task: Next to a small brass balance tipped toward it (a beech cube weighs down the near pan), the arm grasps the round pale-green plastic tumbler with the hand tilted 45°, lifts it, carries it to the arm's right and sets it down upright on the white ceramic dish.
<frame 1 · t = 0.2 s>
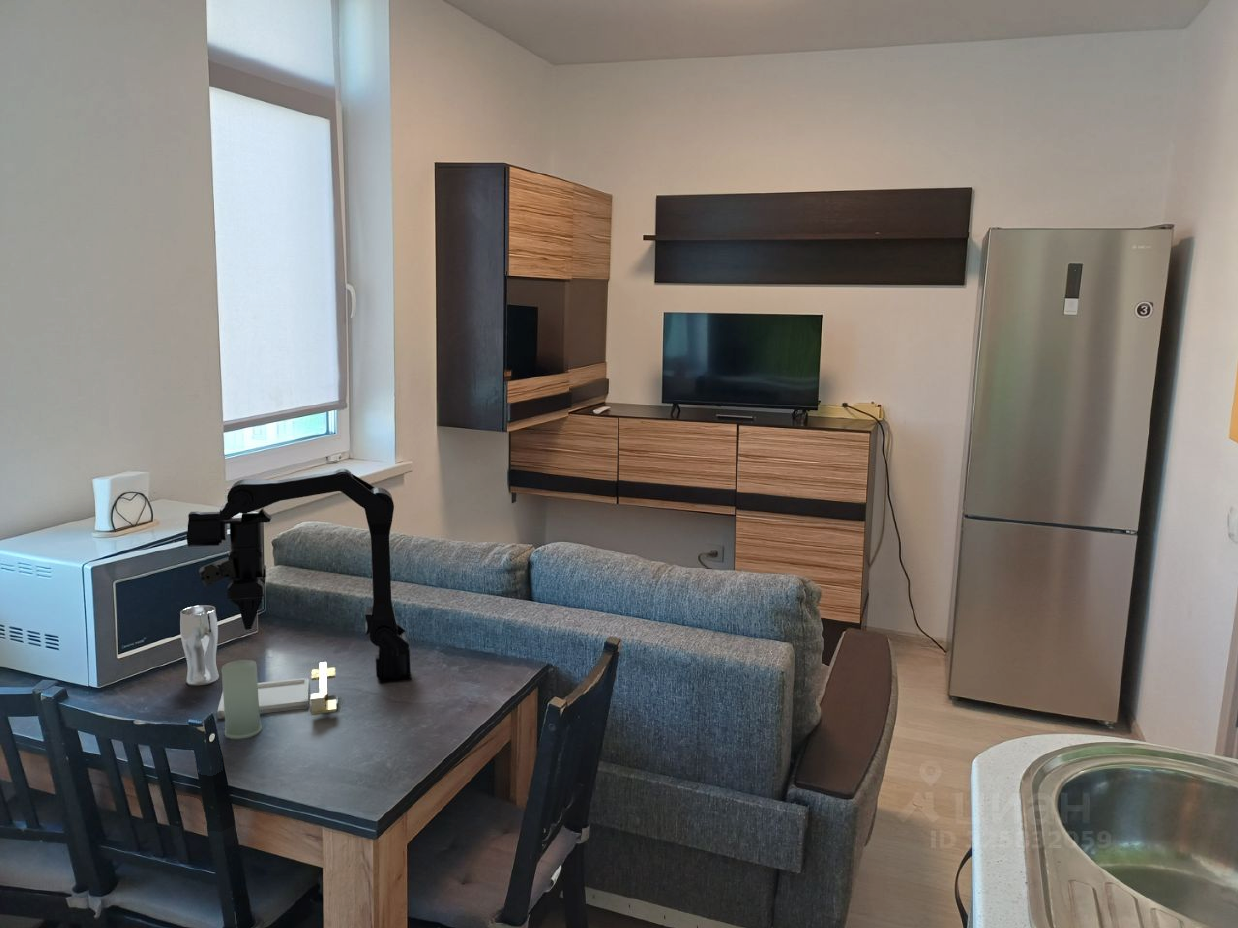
hand: (249, 622, 180), 15 cm above the table, tool pointing down, fingers open, 9 cm apart
cup: (243, 731, 165), on the table
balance: (324, 706, 176), on the table
dish: (265, 700, 178), on the table
beer glass: (202, 680, 189), on the table
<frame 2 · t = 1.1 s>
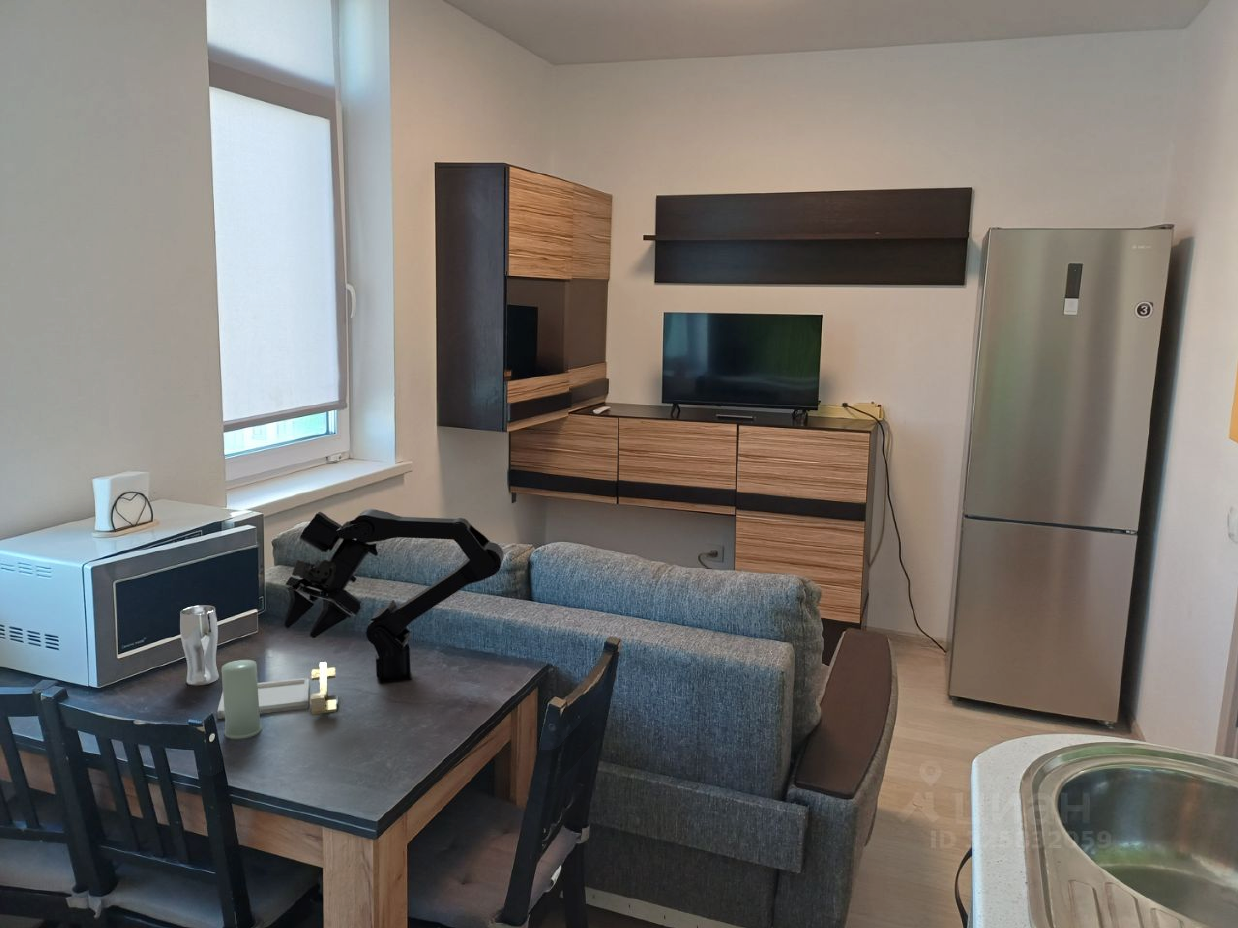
hand: (298, 632, 178), 13 cm above the table, tool tilted 45°, fingers open, 9 cm apart
nothing on the table moved.
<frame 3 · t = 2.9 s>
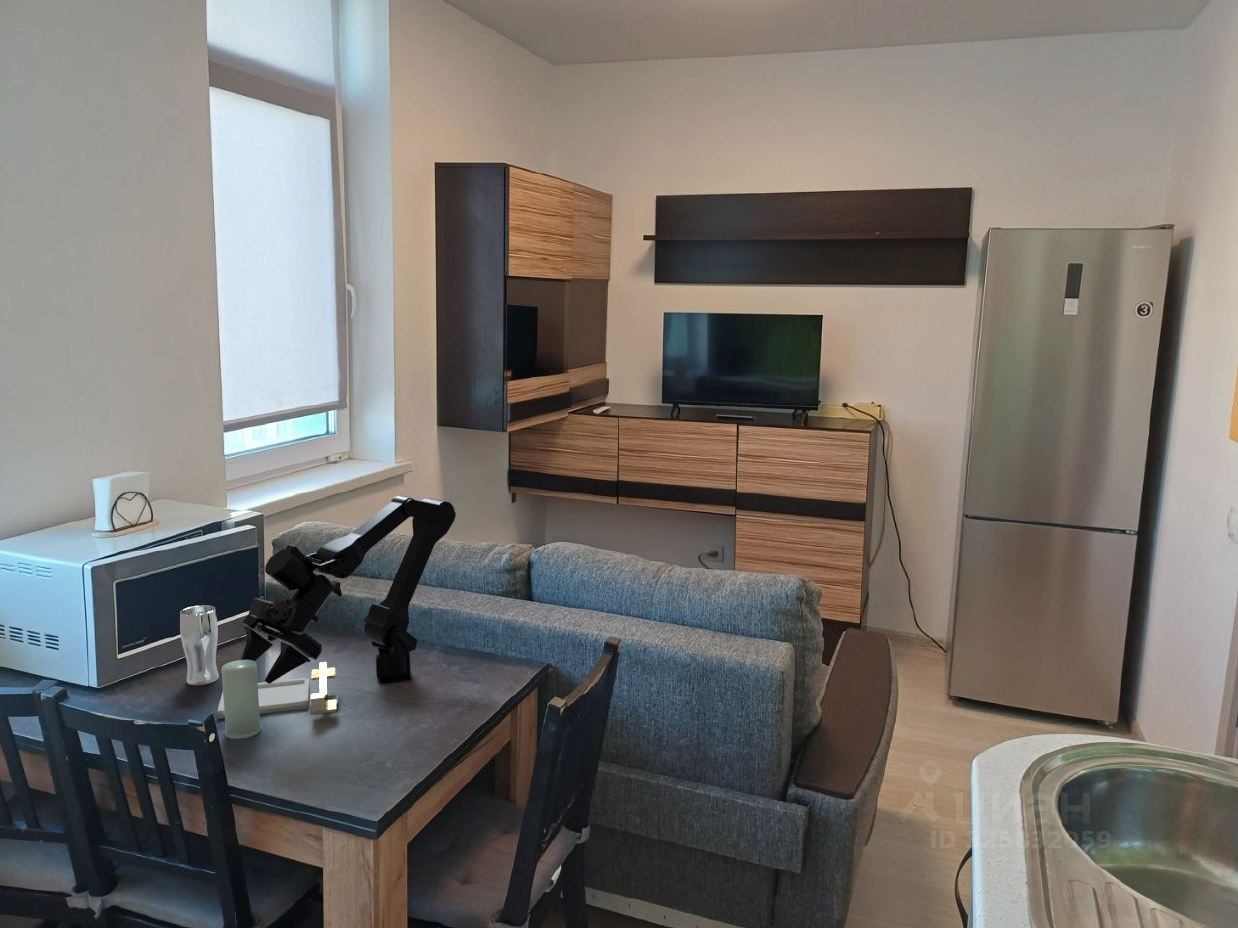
hand: (253, 675, 166), 10 cm above the table, tool tilted 45°, fingers open, 9 cm apart
nothing on the table moved.
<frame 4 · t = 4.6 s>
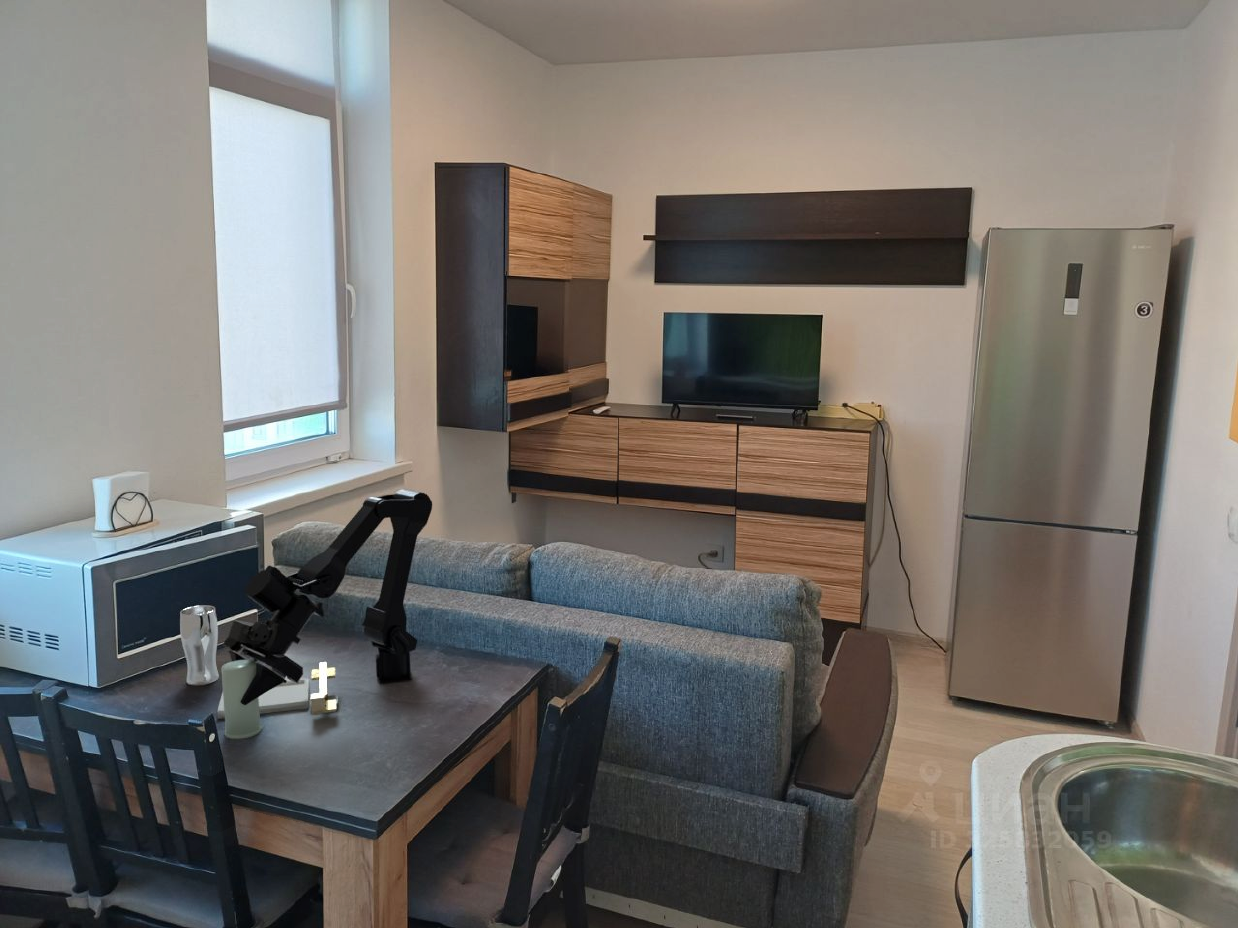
hand: (233, 699, 163), 7 cm above the table, tool tilted 45°, fingers closed on cup, 6 cm apart
cup: (243, 731, 165), on the table, touching gripper
everything else where it was.
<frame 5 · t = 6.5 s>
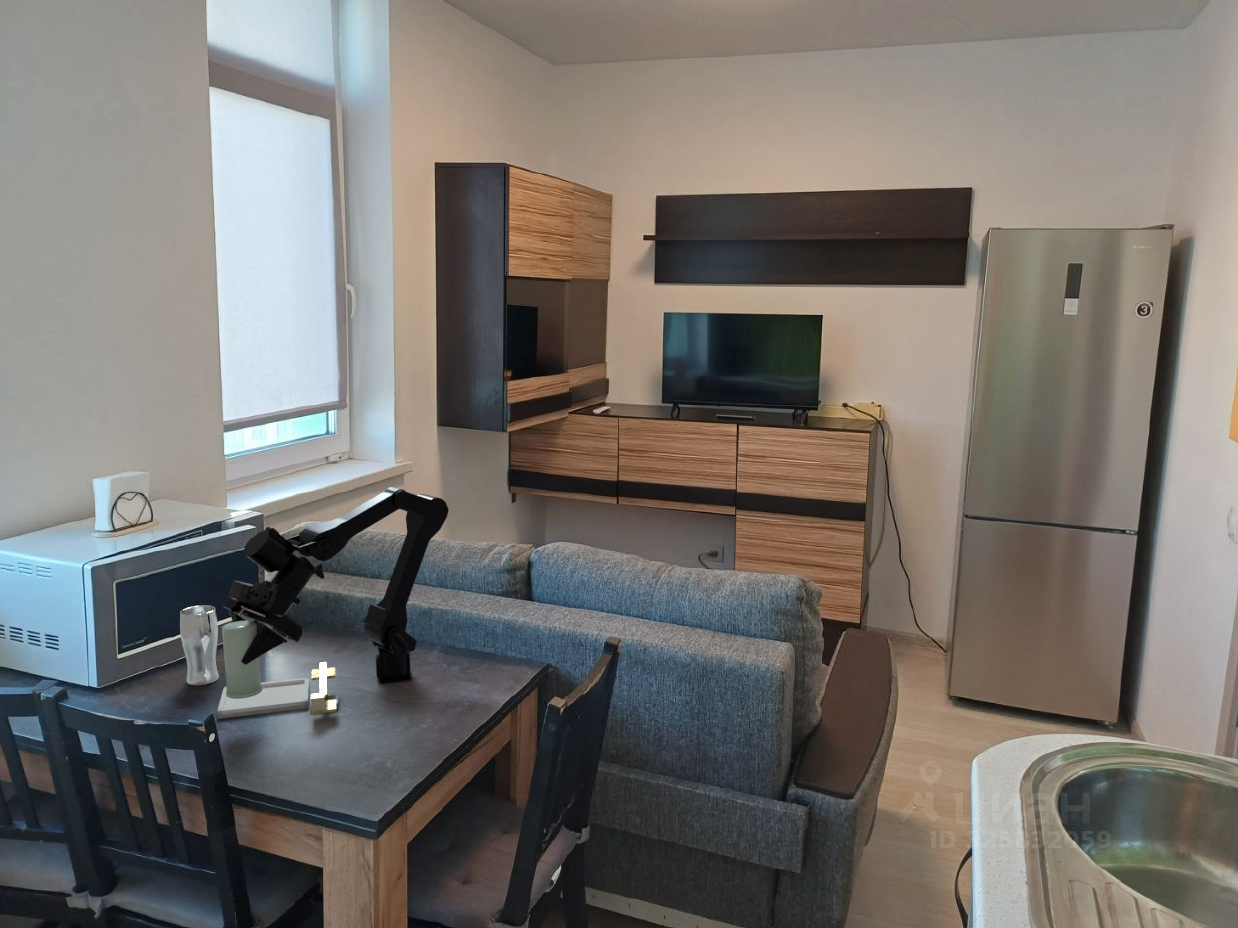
hand: (234, 659, 164), 13 cm above the table, tool tilted 45°, fingers closed on cup, 6 cm apart
cup: (244, 691, 166), point 7 cm above the table, touching gripper
everything else where it was.
when the fingers open (9 cm above the table, at t = 8.8 s): cup drops 1 cm, resting on dish.
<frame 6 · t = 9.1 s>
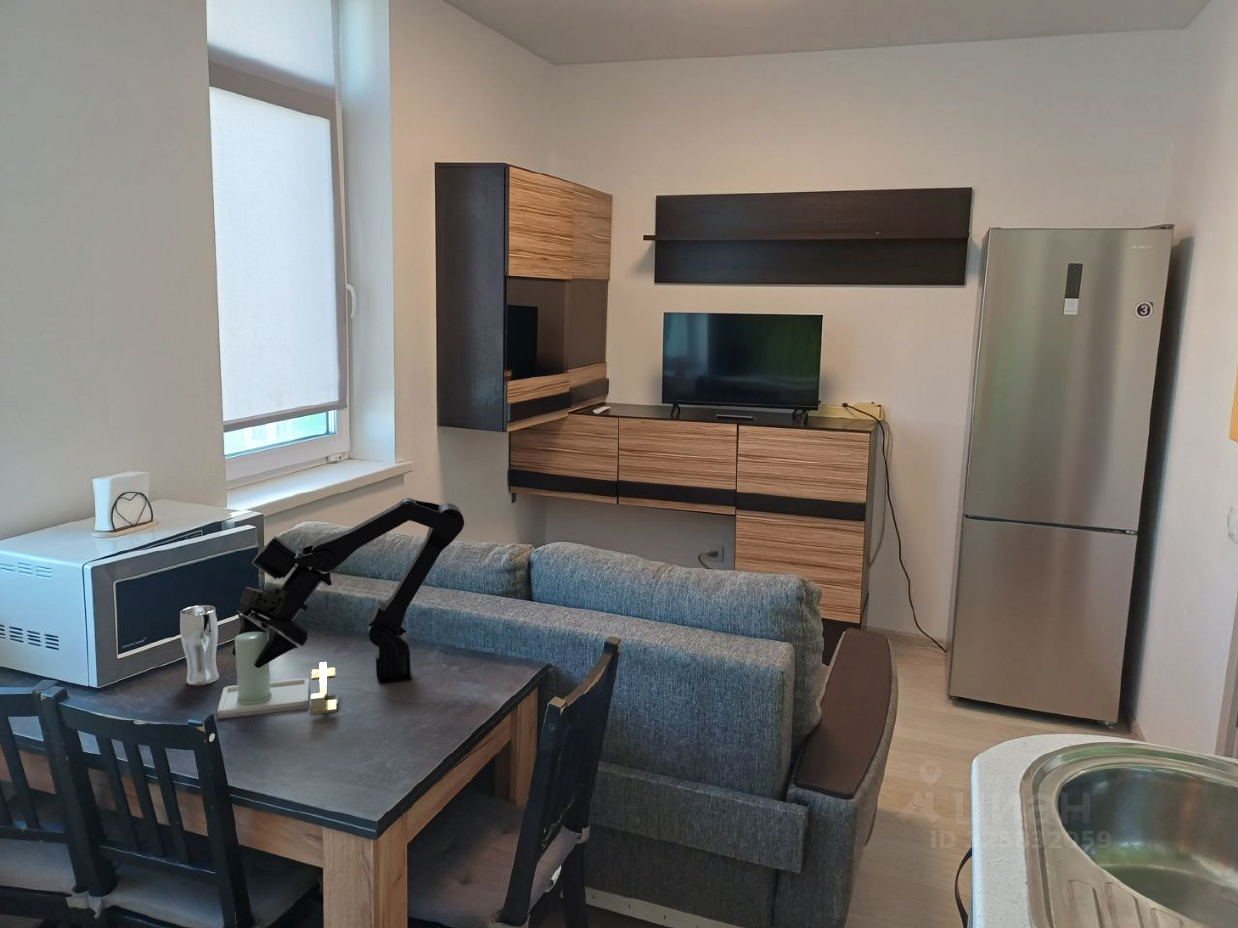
hand: (244, 660, 175), 9 cm above the table, tool tilted 45°, fingers open, 9 cm apart
cup: (254, 697, 178), point 1 cm above the table, touching dish
everything else where it was.
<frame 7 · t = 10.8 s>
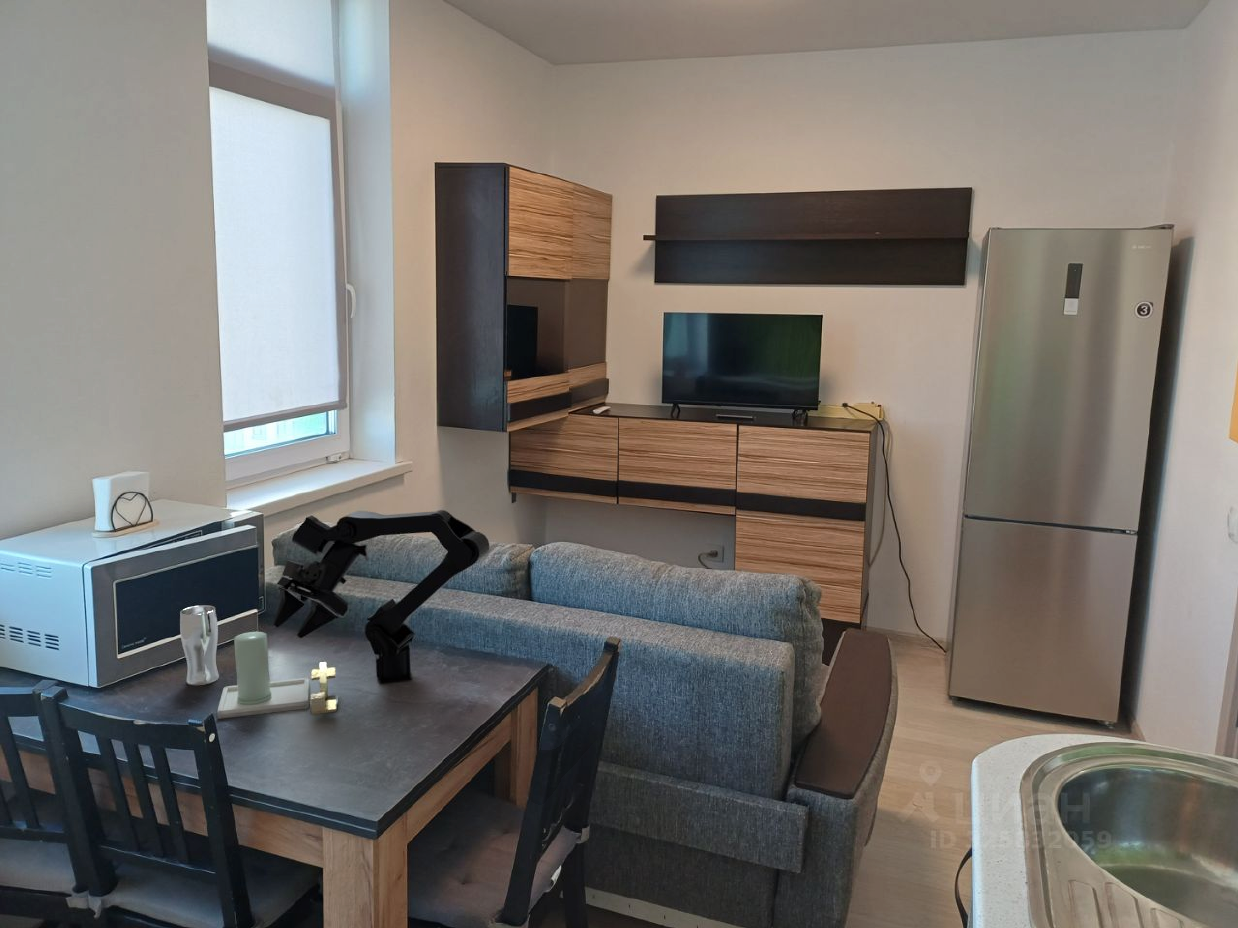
hand: (286, 631, 181), 13 cm above the table, tool tilted 45°, fingers open, 9 cm apart
nothing on the table moved.
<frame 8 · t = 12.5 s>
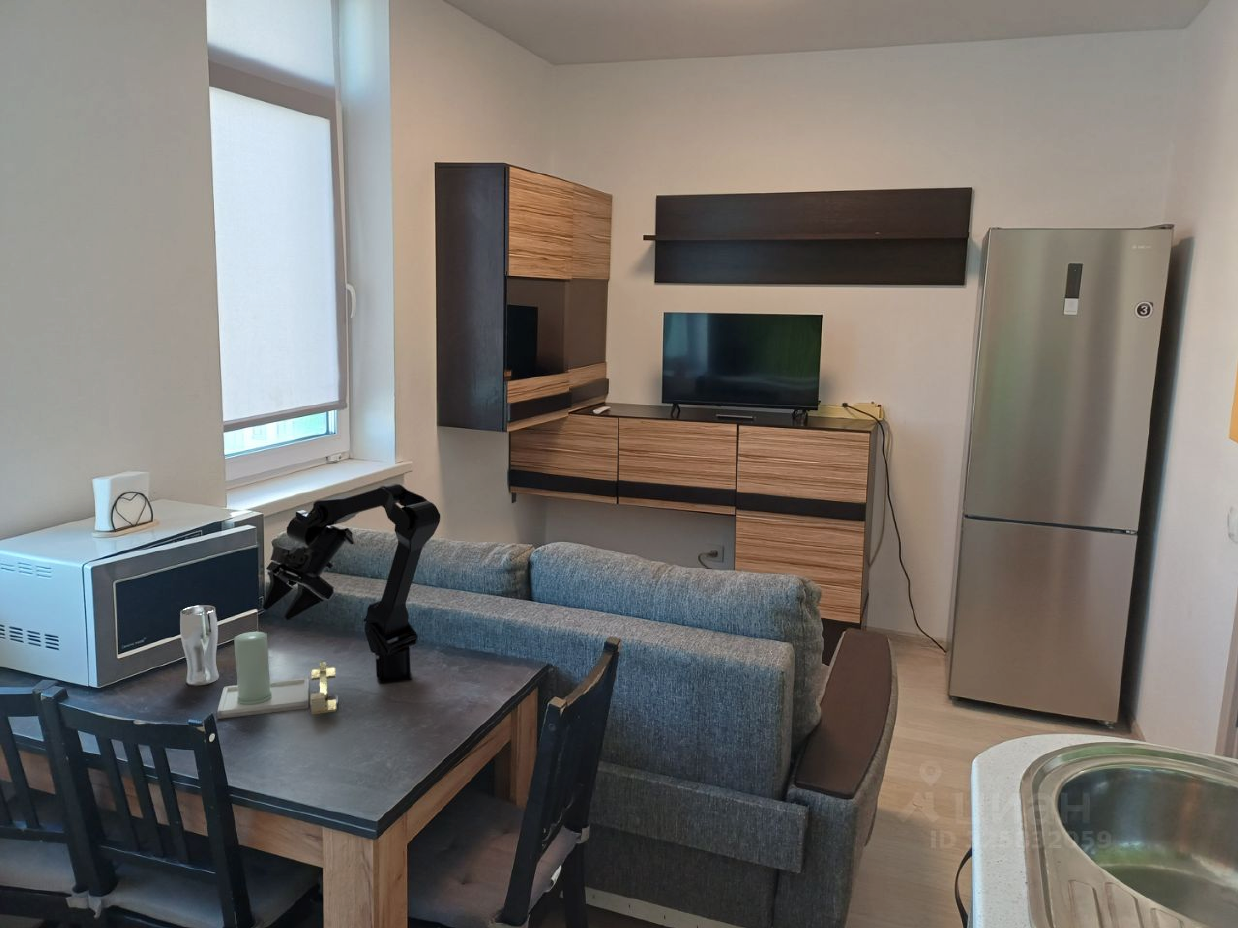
hand: (274, 613, 188), 14 cm above the table, tool tilted 45°, fingers open, 9 cm apart
nothing on the table moved.
at the end: cup inside the target area on the dish (2.0 cm from its centre), point 0.8 cm above the dish's base; cup tilted 0° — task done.
